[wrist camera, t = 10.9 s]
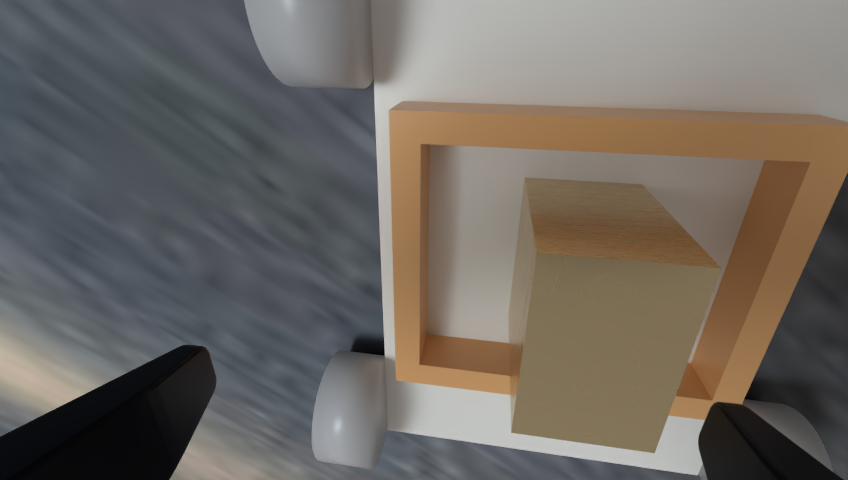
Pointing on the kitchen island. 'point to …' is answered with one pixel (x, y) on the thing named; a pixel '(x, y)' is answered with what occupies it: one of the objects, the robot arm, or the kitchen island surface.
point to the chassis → (570, 160)
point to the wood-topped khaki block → (601, 312)
